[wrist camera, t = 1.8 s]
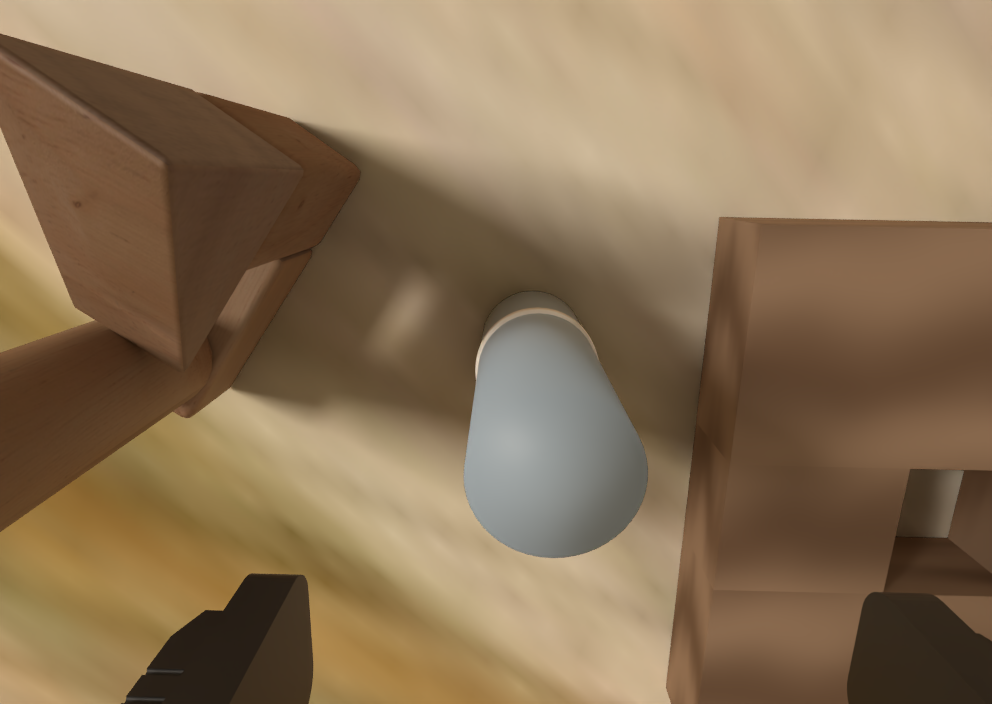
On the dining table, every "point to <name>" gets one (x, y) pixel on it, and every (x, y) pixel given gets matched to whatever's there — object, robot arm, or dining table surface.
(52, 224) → the brown wedge-headed part
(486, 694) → the dining table surface
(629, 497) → the peg
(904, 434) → the socket block
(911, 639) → the robot arm
